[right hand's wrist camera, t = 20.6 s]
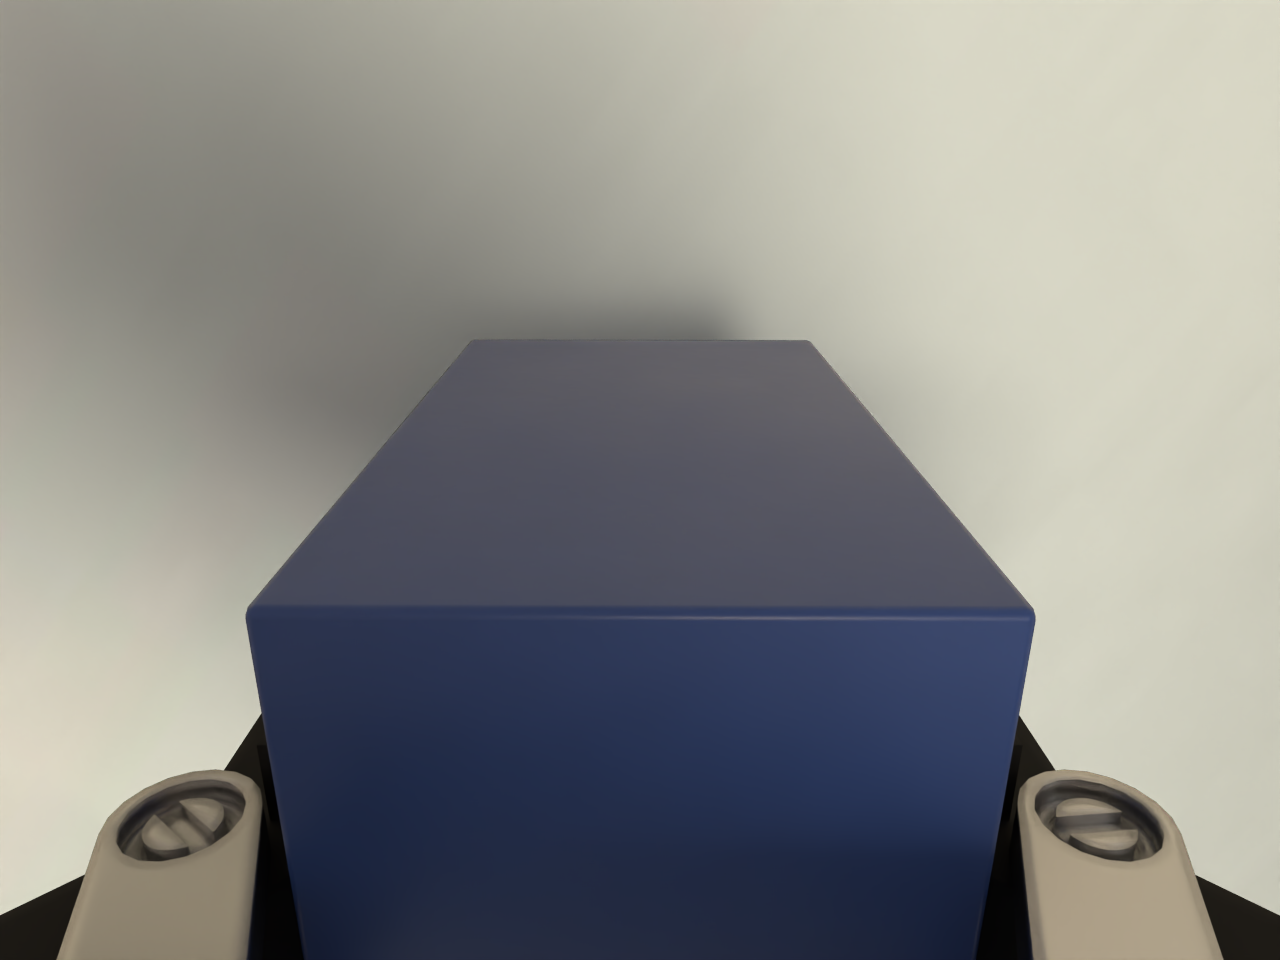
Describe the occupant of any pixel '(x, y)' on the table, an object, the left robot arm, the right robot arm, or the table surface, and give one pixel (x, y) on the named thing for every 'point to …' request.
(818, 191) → the table surface
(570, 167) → the table surface
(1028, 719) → the table surface
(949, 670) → the block
